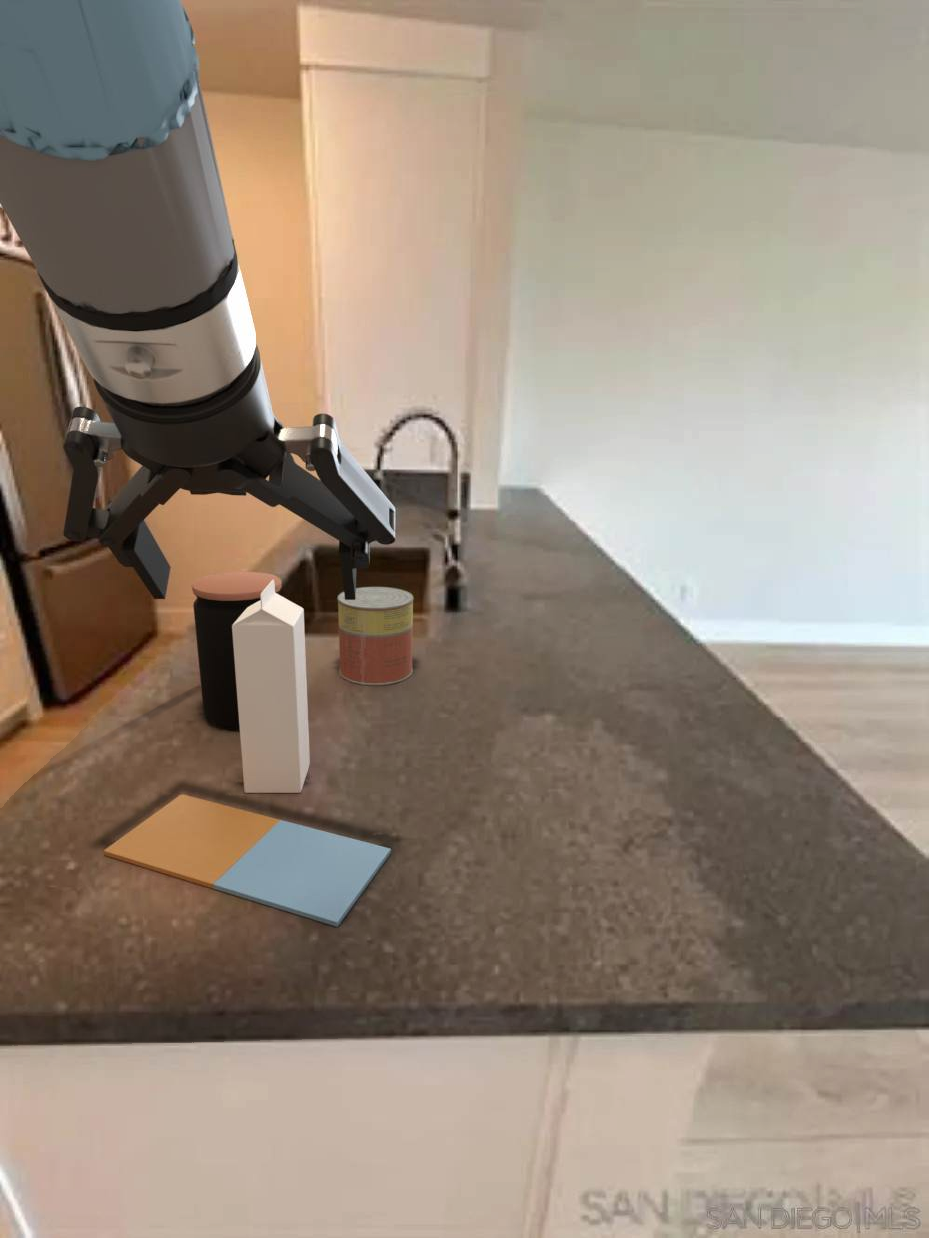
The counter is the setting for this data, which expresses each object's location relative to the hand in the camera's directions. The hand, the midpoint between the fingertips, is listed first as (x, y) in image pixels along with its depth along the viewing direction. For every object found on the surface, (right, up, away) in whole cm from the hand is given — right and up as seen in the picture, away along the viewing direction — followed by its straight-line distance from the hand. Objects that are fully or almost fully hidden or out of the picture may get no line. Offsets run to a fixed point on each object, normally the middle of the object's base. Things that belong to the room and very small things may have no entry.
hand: (258, 583), depth 50 cm
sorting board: (-4, -24, +12) cm, 27 cm away
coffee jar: (-13, -15, +39) cm, 44 cm away
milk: (-5, -20, +24) cm, 32 cm away
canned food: (+2, -11, +54) cm, 56 cm away
